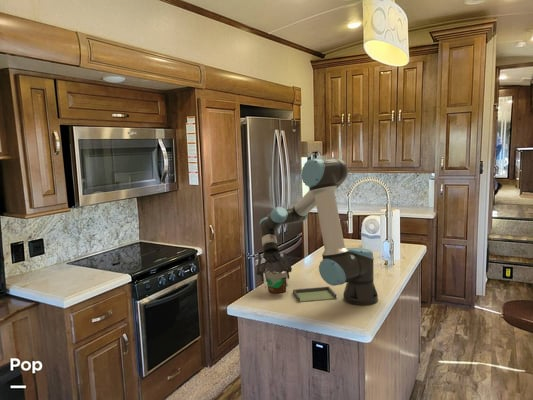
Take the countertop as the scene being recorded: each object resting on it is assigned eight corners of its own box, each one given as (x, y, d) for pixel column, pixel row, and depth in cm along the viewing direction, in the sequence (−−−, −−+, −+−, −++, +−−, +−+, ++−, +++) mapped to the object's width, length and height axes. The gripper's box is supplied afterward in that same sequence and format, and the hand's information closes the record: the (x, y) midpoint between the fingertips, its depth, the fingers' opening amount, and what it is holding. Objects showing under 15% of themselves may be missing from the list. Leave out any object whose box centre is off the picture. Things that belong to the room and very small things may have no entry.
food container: (260, 292, 196) (258, 271, 194) (268, 287, 200) (266, 268, 199) (280, 297, 188) (279, 275, 186) (288, 292, 192) (287, 272, 191)
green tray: (336, 298, 186) (336, 294, 186) (297, 302, 184) (297, 298, 183) (329, 290, 198) (329, 286, 197) (292, 293, 195) (292, 289, 195)
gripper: (291, 247, 209) (298, 287, 195) (247, 251, 206) (252, 291, 192) (292, 239, 203) (300, 280, 189) (248, 243, 200) (253, 284, 186)
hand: (276, 286), depth 191 cm, fingers closed on food container, 9 cm apart
